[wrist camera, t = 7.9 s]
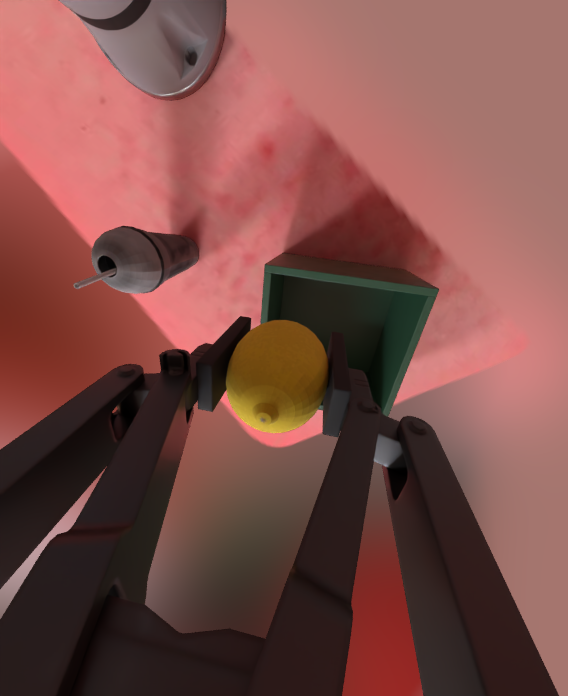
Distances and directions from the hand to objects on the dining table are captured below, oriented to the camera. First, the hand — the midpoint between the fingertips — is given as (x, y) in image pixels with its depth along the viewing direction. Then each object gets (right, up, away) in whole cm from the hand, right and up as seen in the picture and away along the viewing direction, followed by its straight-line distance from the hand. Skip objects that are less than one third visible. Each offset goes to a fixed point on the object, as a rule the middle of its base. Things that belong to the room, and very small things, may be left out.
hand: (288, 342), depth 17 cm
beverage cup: (-16, +15, +21) cm, 30 cm away
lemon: (0, 0, +1) cm, 1 cm away
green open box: (+7, +4, +22) cm, 24 cm away
